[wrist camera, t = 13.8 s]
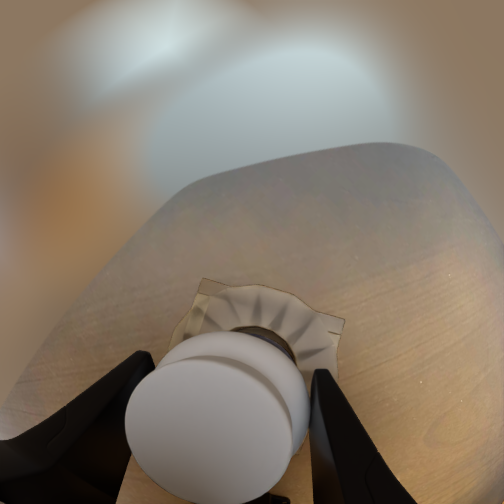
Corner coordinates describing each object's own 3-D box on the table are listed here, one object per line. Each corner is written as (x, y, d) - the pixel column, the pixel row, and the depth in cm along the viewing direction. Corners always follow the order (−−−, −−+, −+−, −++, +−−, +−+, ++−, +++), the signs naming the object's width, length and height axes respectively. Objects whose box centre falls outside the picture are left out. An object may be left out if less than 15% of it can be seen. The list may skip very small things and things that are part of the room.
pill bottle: (252, 313, 15) (216, 275, 6) (316, 384, 14) (374, 447, 5) (180, 371, 15) (67, 402, 5) (241, 441, 13) (199, 547, 4)
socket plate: (301, 449, 18) (304, 465, 15) (164, 404, 19) (149, 413, 17) (347, 314, 20) (358, 311, 17) (206, 274, 22) (196, 264, 19)
